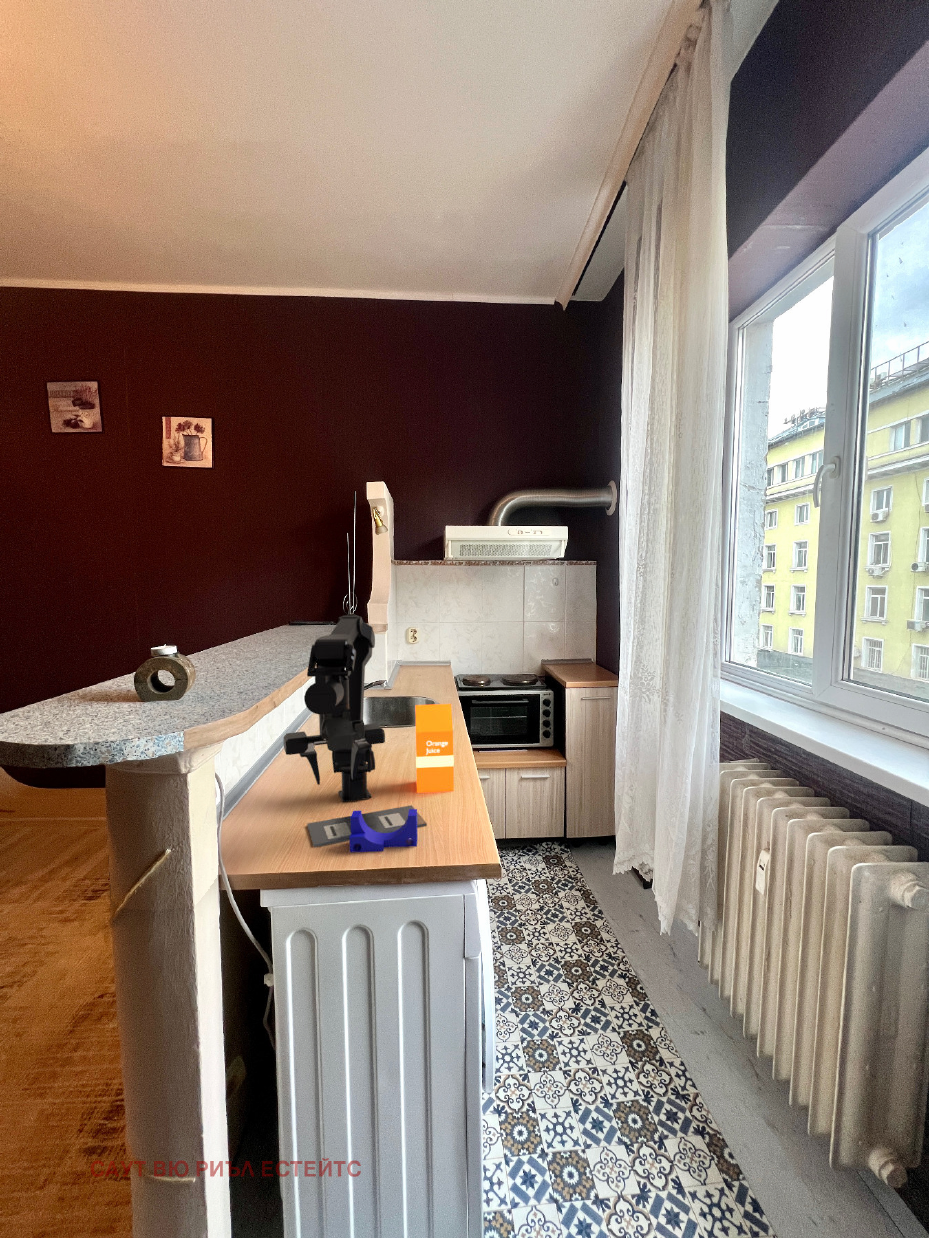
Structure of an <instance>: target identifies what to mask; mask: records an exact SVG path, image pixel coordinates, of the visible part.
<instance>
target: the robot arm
mask: <svg viewBox="0 0 929 1238" xmlns="http://www.w3.org/2000/svg"><path fill="white" fill-rule="evenodd" d="M375 645H376V635H375V631H374V628H373V626H371V625H369V624H368V623H366V622H365V621H364V620H363V617H362V616H359V615H342V616H339V617H338V620H337V624H336V625H335V627H334V628H333V630H331V632H330V634H327V635H323V636H320V637H318V638H317V639H316V640H315V641H314V643H313V644H312V645H311V649H310V654H309V659H308V660H309V661H308V666H307V673H306V676H307V678H308V677H310V678H312V677H313V678H314V683H313V684H311V685H310V686H309V687H307V688H306V689H307V690H306V691H305V693H304V696H303V697H304V699H303V701H304V704H305V706H306V708H307V709H308V711H310V712H311V713H313V714H315V715H318V716H319V717H318V721H319V734H316V735H307V733H306V732H305V731H295V732H287V733H286V734H285V735H284V736H283V750H284V752H285V755H286V756H287V755H288V756H289V755H290V756H291V755H299V757H301V758H306V759H307V761H308V762H309V765H310V767H311V770H312V773H313V777H314V778H315V781H316V783H317V785H318V786H319V785H320V784H321V776H320V769H319V768H320V767H319V763H318V753H317V751H316V749H315V746H323V745H326V747H327V749H328V751H330V752H331V760H332V761H331V763H332V768H333V769H332V770H333V773H334V774H336V773H341V790H338V795H339V798H340V800H341V801H342V802H343V803H348V802H353V801H354V802H355V801H360V800H366V799H371V798H372V794H371V793H370V791H369V790H368V779H367V778H368V776H367V775H368V773H371V772H372V771H374V770H376V759H375V753H374V751H373V749H372V748H373V745H378V744H384V743H386V733H385V732H386V731H385V730H384V729H383V728H382V727H381V726H380V725H379V724H378V723H369V724H365V721H364V703H365V699H364V697H365V679H366V677H365V673H366V672H365V671H366V665H368V663H369V661H370V659H371V658H372V656H373V649H374V648H375Z"/></svg>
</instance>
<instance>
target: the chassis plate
mask: <svg viewBox="0 0 929 1238" xmlns="http://www.w3.org/2000/svg"><path fill="white" fill-rule="evenodd" d="M409 809H415V807H414V806H413V805H405V806H398V807H394V808H387V809H383V810H377V811H371V812H366V813H362V817H363V820H364V821H365V823H366V824H367V826H368V827H370V828H371V829H372V830H374V831H376V832H379V833H391V832H394V831H396V830H398V829H399V828H401V827H402V826H403V825H404V824H405V822H406V820H407V818H408V813H409ZM306 825H307V829H308V832H309V835H310V839H311V843H312V846H313V848H318V847H324V846H327V845H328V846H329V845H334V844H338V843H339V844H340V843H344V842H350V840H349V837H350V835H351V815H349V816H343V817H337V818H332V819H325V820H319V821H312V822H309V823H308V822H307V824H306ZM427 825H428V823H427V822H426V820H424V818H423V817H422V816H421V814H420V813H419V812H418V811H417V828H421V827H427Z"/></svg>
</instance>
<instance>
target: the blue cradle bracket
mask: <svg viewBox="0 0 929 1238" xmlns="http://www.w3.org/2000/svg"><path fill="white" fill-rule="evenodd" d="M417 812H418V809H417V808H414V809H409V813H408V818H407V820H406V822H405V824H404V825H403V826H402V827H401V828H399V829H398V830H396V831H394V832H391V833H379V832H376V831H374V830H372V829H371V828H370V827H368V826H367V824H366V823H365V821H364V820H363V817H362V814H363V812H362V810H353V811H352V813H351V815H350V816H351V835H350V837H349V840H350V841H349V853H368V852H370V853H372V852H373V853H376V852H379V853H380V852H384V849H385V848H406V847H407V848H413V847H417V846H418V837H419V836H418V835H419V834H418V827H417Z"/></svg>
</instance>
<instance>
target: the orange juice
mask: <svg viewBox="0 0 929 1238" xmlns="http://www.w3.org/2000/svg"><path fill="white" fill-rule="evenodd" d="M452 711H453V710H452V703H439V704H438V703H437V704H415V767H416V768H415V769H416V793H417V794H421V793H424V794H425V793H426V794H427V793H443V792H444V793H445V792H455V788H454V787H455V783H454V781H455V780H454V779H455V777H454V776H455V775H454V771H455V770H454V769H455V768H454V766H455V765H454V761H455V760H454V758H455V755H454V730H453V729H454V728H453V714H452V713H453V712H452Z"/></svg>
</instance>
